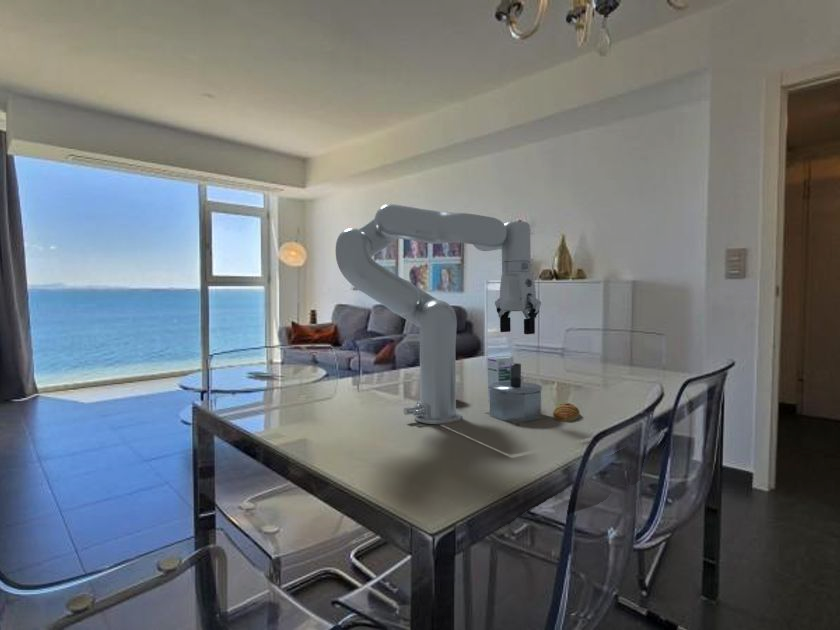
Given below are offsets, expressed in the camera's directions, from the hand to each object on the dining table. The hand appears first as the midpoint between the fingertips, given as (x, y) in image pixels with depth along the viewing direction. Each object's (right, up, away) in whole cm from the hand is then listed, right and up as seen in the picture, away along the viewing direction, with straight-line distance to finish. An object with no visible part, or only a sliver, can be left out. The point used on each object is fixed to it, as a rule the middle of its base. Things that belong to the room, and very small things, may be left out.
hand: (517, 332), depth 127 cm
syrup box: (-2, -22, +16) cm, 28 cm away
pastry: (+13, -23, -1) cm, 27 cm away
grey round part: (0, -22, +1) cm, 22 cm away
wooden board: (0, -23, +1) cm, 23 cm away
